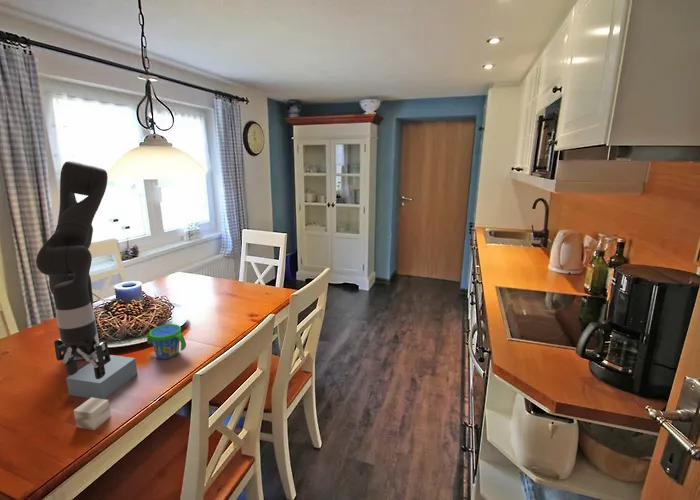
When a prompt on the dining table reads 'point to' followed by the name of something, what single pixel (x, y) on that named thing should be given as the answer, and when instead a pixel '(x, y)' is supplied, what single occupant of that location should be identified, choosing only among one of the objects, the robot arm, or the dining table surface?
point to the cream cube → (92, 413)
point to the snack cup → (166, 340)
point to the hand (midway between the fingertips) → (86, 375)
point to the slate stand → (101, 388)
